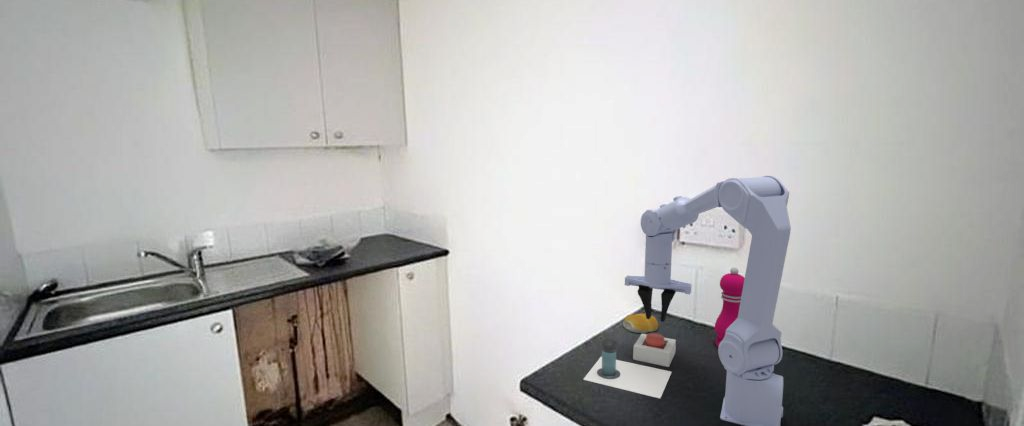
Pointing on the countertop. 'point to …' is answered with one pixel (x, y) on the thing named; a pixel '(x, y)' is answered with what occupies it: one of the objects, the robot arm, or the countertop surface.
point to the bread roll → (640, 323)
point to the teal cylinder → (609, 357)
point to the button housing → (654, 351)
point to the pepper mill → (729, 302)
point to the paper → (632, 378)
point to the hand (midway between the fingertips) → (655, 318)
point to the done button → (655, 340)
